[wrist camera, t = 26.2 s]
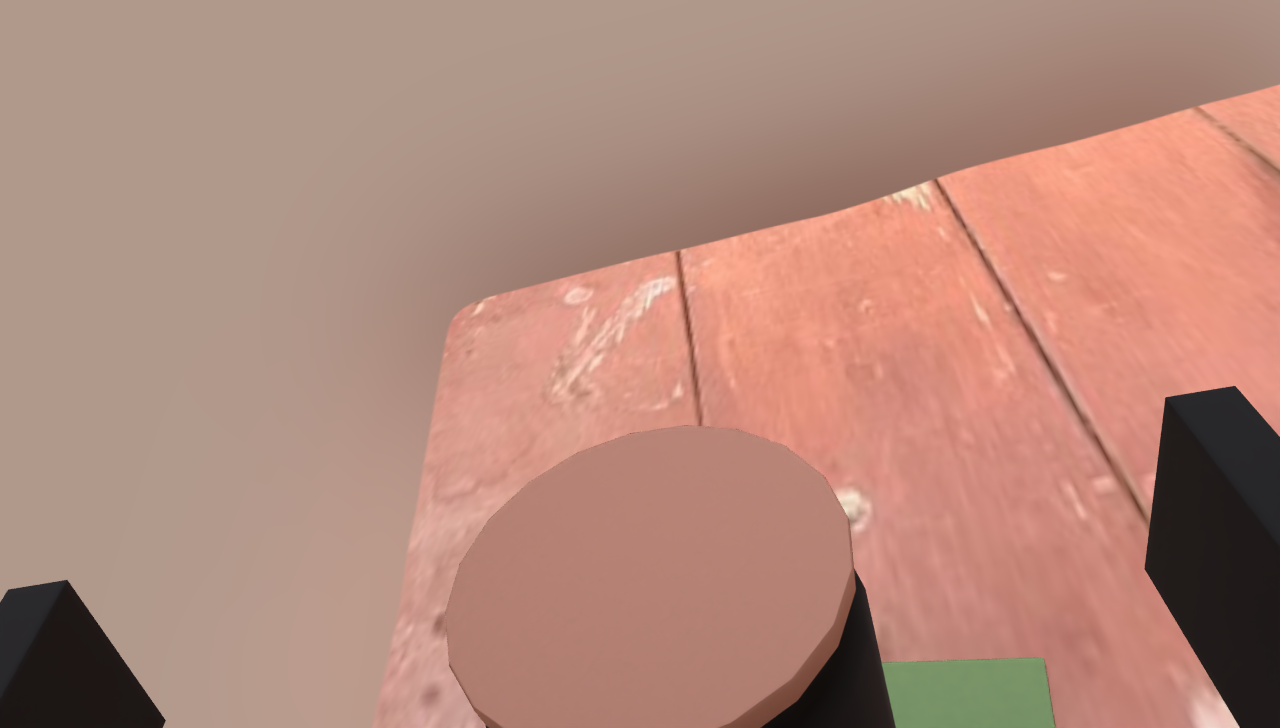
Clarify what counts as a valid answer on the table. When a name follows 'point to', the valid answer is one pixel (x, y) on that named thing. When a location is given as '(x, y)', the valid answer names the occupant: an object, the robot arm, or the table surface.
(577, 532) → the coffee jar
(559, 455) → the table surface
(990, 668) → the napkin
